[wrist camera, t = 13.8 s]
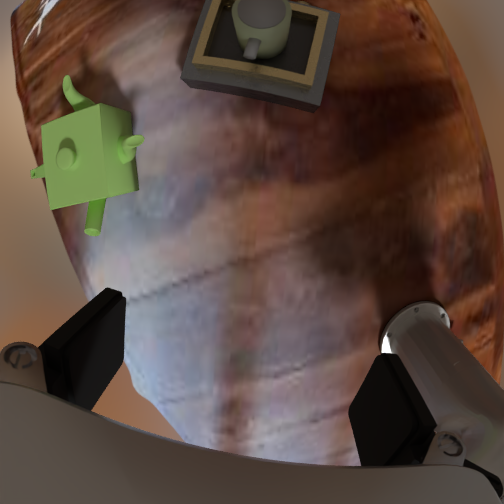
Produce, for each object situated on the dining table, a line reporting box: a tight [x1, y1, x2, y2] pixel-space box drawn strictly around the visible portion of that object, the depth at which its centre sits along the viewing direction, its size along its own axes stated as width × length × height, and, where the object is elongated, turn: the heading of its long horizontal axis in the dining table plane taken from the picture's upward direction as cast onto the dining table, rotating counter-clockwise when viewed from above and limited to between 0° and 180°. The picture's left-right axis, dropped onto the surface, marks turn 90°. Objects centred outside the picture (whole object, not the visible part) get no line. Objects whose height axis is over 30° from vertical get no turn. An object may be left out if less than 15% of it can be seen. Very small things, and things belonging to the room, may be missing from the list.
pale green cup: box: [232, 0, 292, 60], centre depth 25 cm, size 6×7×7 cm
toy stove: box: [180, 0, 340, 113], centre depth 30 cm, size 16×14×7 cm
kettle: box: [30, 75, 144, 236], centre depth 33 cm, size 15×14×11 cm
